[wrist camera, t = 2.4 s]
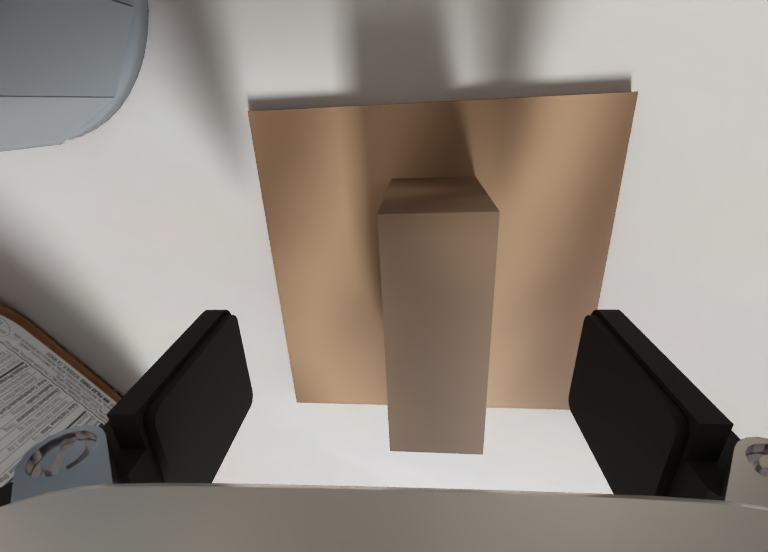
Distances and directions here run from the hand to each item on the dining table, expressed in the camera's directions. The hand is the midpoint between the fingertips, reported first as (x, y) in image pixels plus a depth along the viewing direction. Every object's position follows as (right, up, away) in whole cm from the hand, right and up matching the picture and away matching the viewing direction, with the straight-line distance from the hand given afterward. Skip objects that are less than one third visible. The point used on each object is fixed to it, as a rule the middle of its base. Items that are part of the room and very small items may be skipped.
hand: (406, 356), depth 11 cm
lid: (+1, +3, +6) cm, 7 cm away
